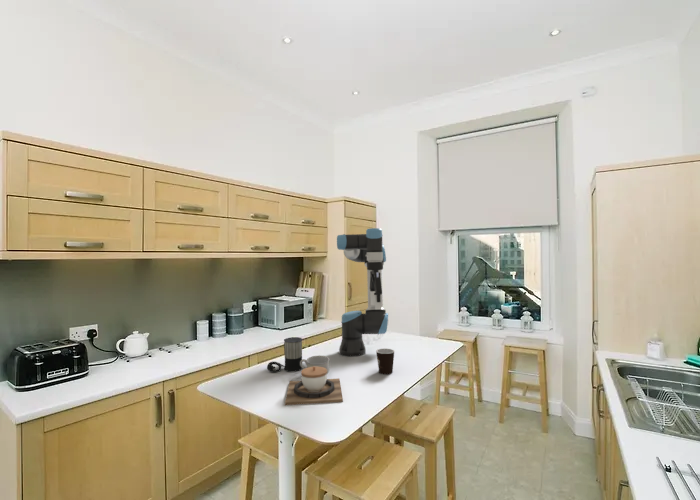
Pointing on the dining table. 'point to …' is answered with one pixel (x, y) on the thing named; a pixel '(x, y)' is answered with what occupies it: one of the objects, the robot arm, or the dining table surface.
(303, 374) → the lidded jar
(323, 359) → the teacup
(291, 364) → the milk frother
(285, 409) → the dining table surface
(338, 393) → the locating board
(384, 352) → the coffee mug
